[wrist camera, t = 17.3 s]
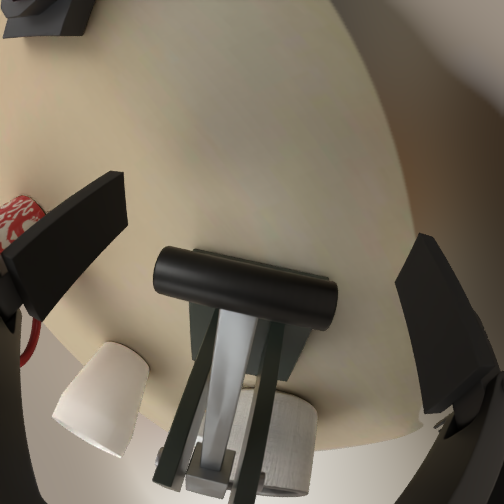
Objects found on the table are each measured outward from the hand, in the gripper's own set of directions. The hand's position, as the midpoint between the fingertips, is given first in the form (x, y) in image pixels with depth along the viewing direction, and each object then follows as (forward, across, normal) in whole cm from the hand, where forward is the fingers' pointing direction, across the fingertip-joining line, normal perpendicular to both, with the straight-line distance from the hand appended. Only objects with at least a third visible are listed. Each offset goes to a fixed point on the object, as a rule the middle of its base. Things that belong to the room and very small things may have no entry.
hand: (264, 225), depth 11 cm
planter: (+5, +4, -27) cm, 28 cm away
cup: (+5, -14, -24) cm, 28 cm away
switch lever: (-5, 0, -6) cm, 8 cm away
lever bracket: (+5, 0, -11) cm, 12 cm away
